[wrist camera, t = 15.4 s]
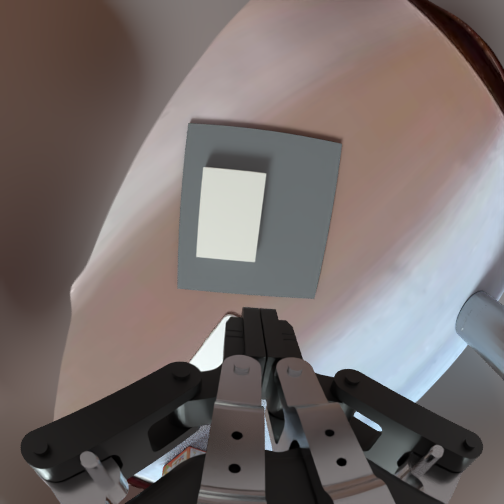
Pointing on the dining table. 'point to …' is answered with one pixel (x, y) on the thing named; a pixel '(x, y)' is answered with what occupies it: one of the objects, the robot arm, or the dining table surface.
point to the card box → (230, 214)
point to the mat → (273, 210)
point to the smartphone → (212, 348)
